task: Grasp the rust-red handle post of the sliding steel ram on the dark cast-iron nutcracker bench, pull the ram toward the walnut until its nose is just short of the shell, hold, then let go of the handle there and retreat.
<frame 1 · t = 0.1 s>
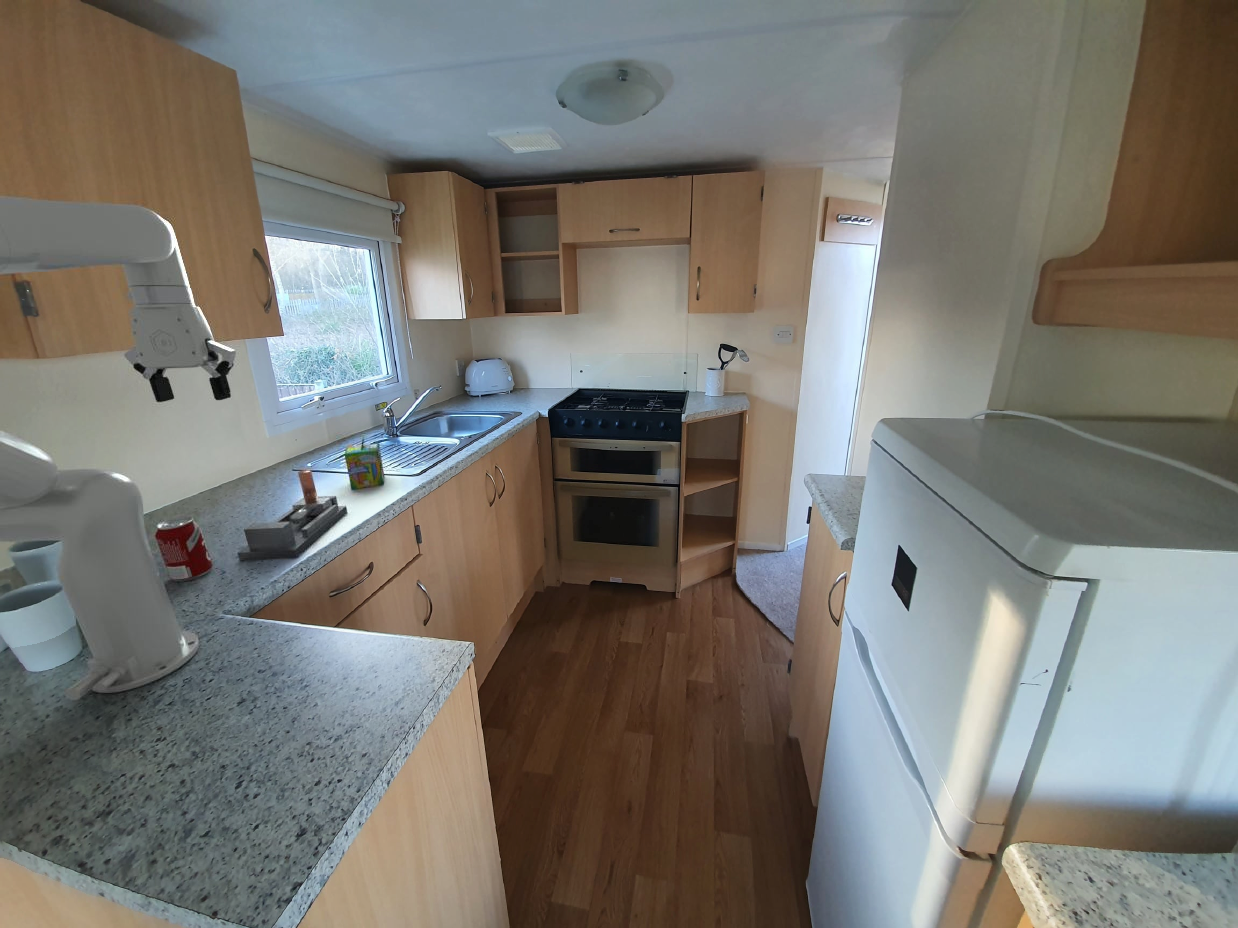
hand: (194, 399, 86), 37 cm above the counter, tool pointing down, fingers open, 9 cm apart
ram: (303, 496, 119), point 8 cm above the counter, slide at 0.0 cm
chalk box: (368, 483, 150), on the counter
soda can: (193, 575, 100), on the counter
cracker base: (299, 534, 116), on the counter
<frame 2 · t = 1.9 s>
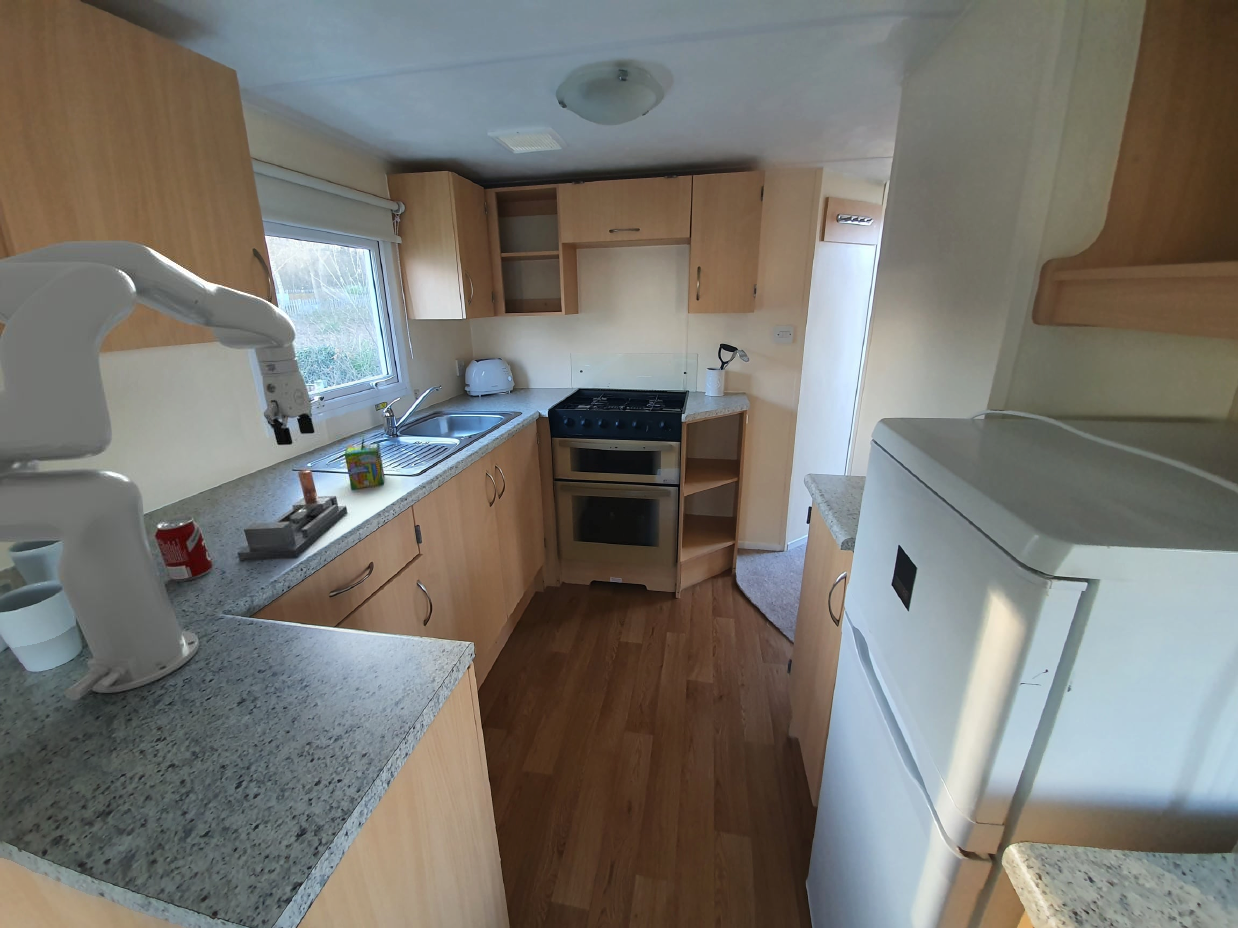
hand: (296, 438, 117), 22 cm above the counter, tool pointing down, fingers open, 9 cm apart
nothing on the counter moved.
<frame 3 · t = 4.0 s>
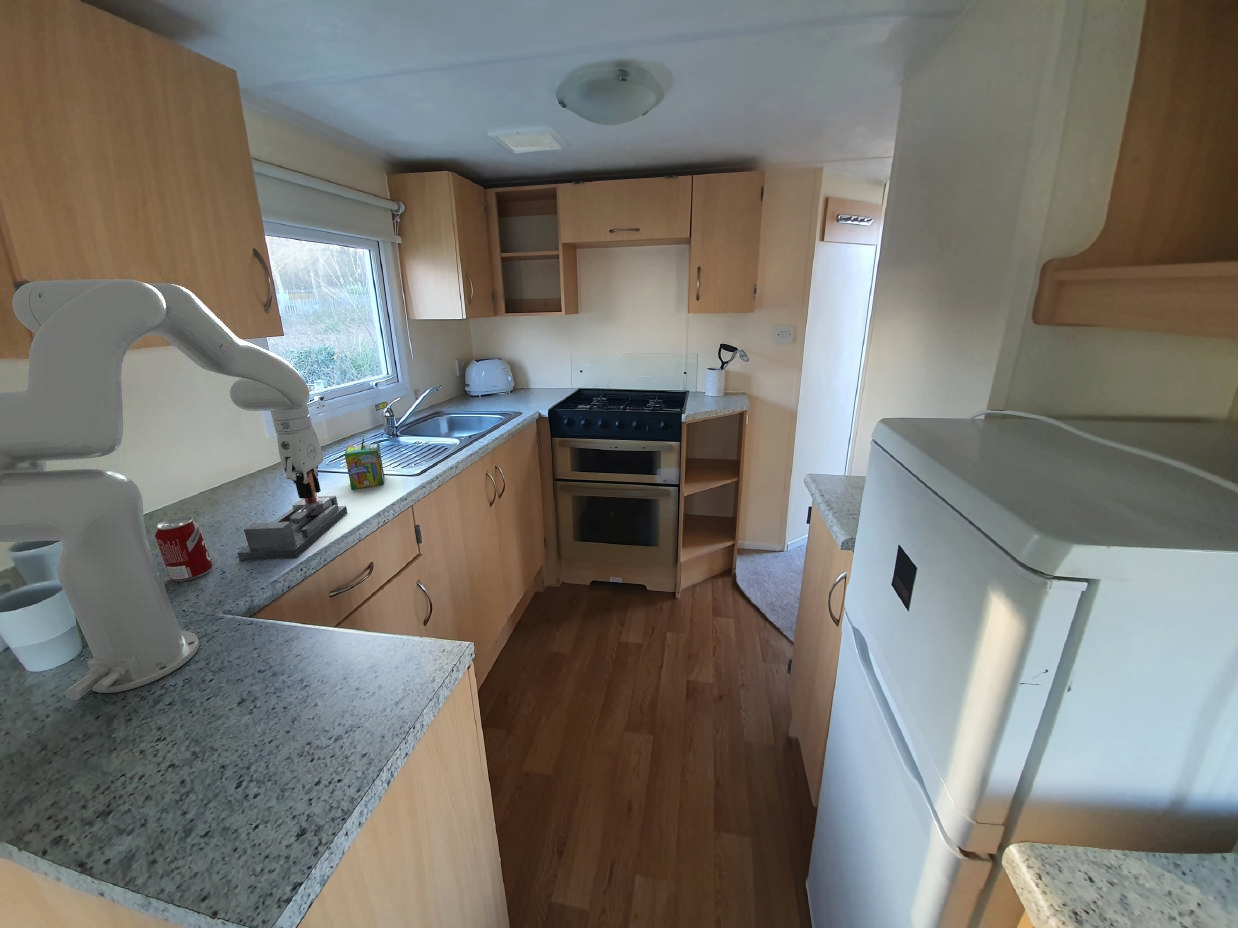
hand: (310, 494, 122), 7 cm above the counter, tool pointing down, fingers closed on ram, 2 cm apart
ram: (303, 496, 119), point 8 cm above the counter, slide at 0.0 cm, touching gripper
everything else where it was.
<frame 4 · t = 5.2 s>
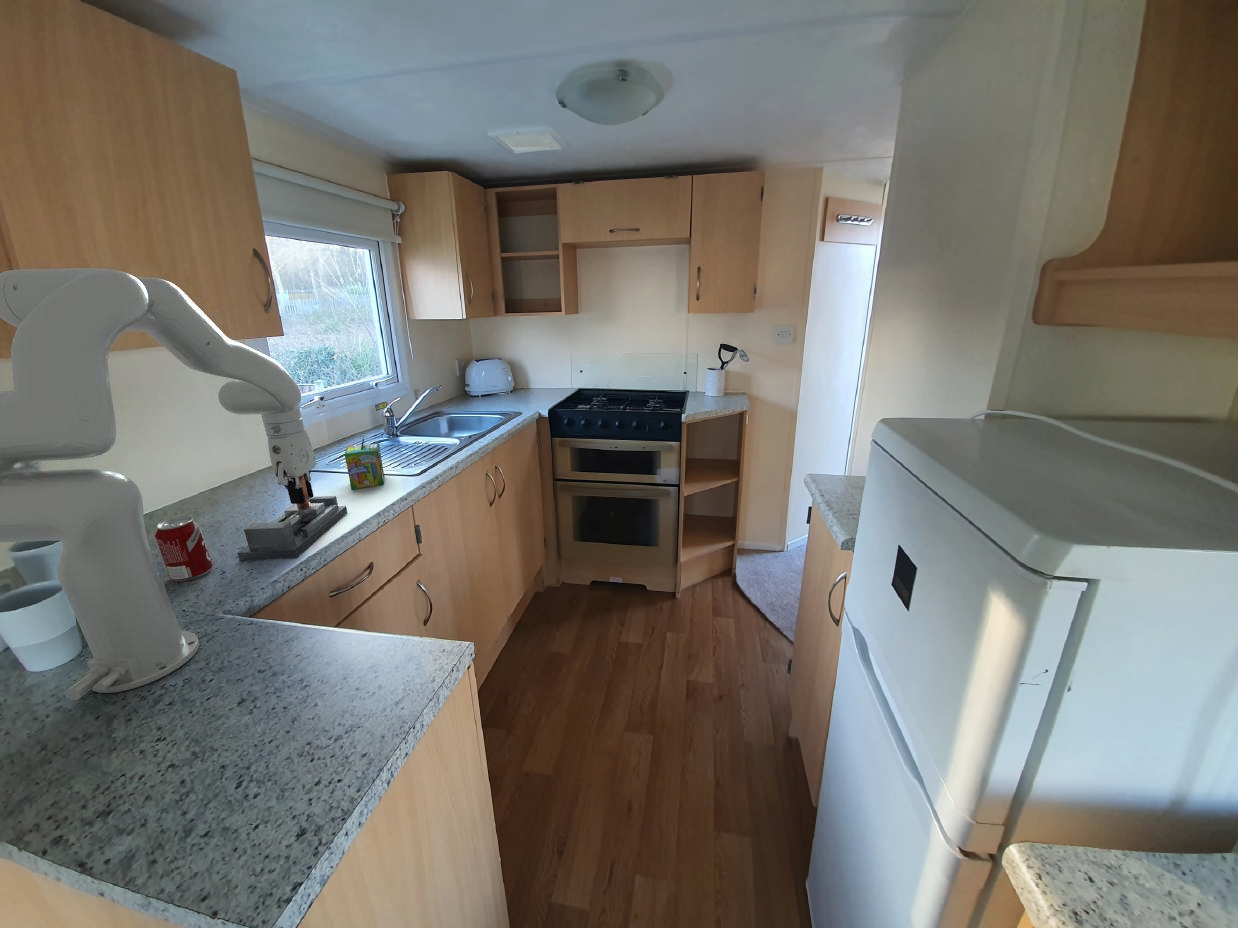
hand: (302, 499, 118), 7 cm above the counter, tool pointing down, fingers closed on ram, 2 cm apart
ram: (295, 502, 115), point 8 cm above the counter, slide at 3.4 cm, touching gripper
everything else where it was.
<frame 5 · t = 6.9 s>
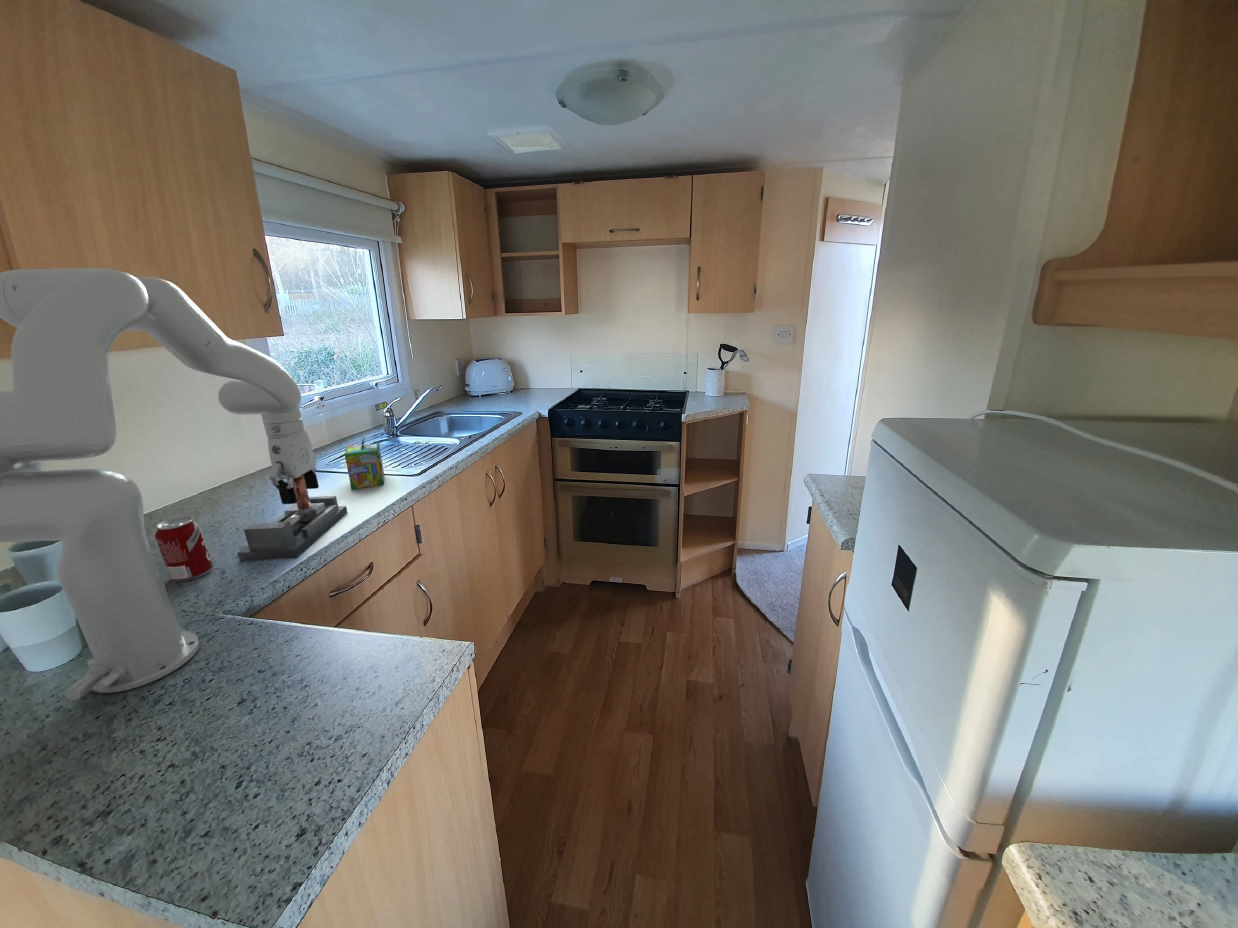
hand: (301, 495, 118), 8 cm above the counter, tool pointing down, fingers open, 9 cm apart
ram: (295, 502, 115), point 8 cm above the counter, slide at 3.5 cm
everything else where it was.
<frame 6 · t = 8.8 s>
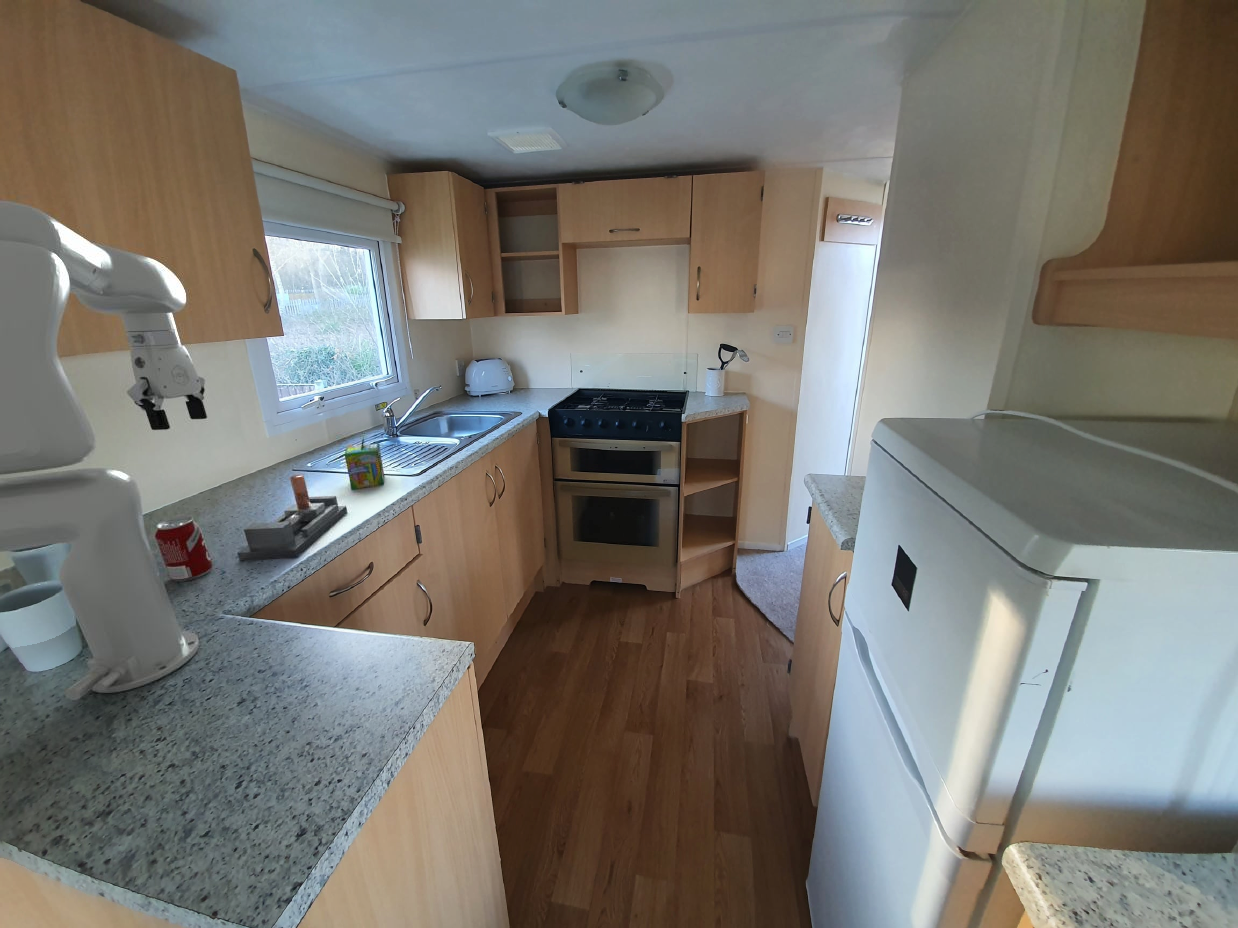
hand: (181, 423, 102), 29 cm above the counter, tool pointing down, fingers open, 9 cm apart
nothing on the counter moved.
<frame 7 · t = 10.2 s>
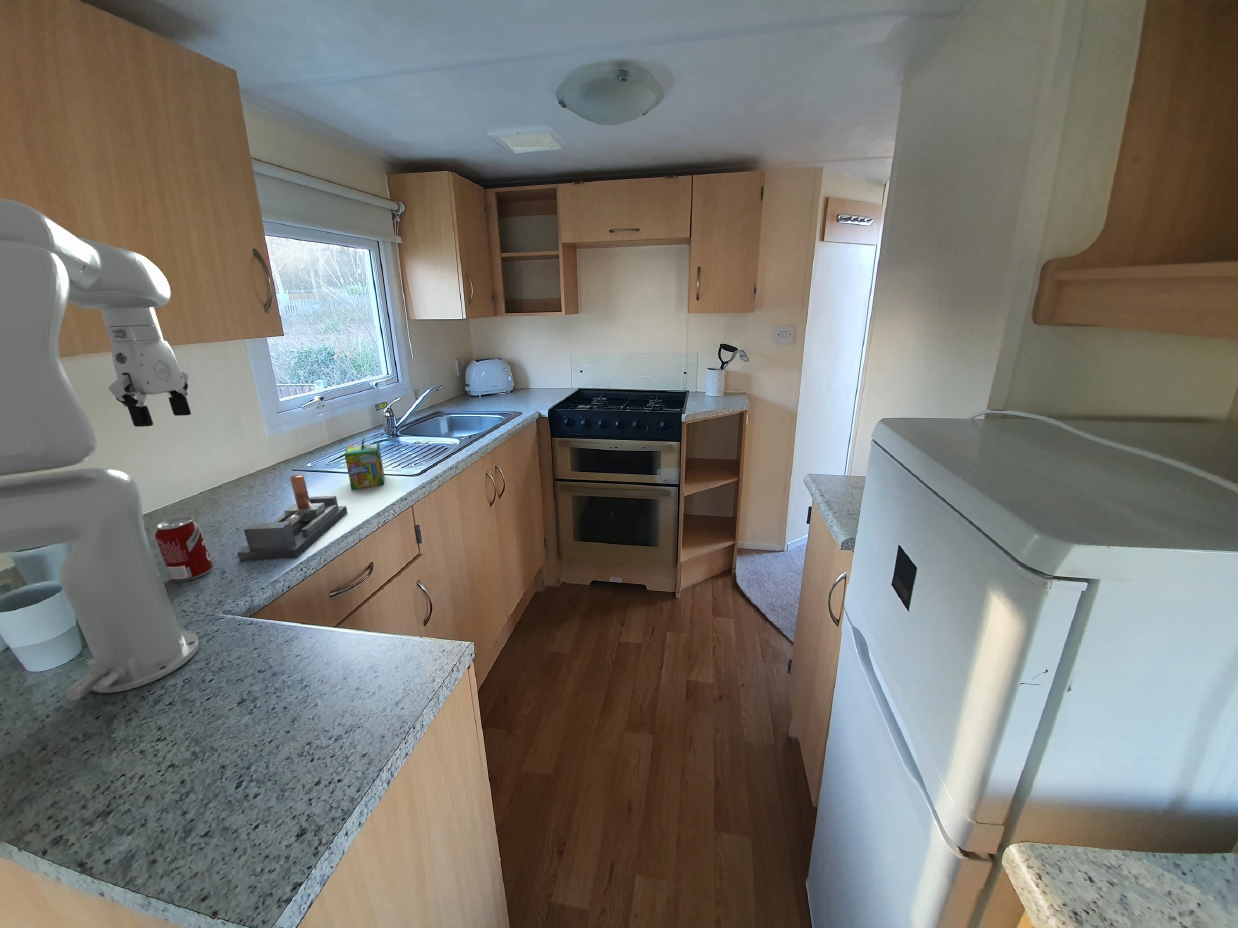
hand: (164, 420, 100), 30 cm above the counter, tool pointing down, fingers open, 9 cm apart
nothing on the counter moved.
at the end: ram slide at 3.5 cm; the gripper is holding nothing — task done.
